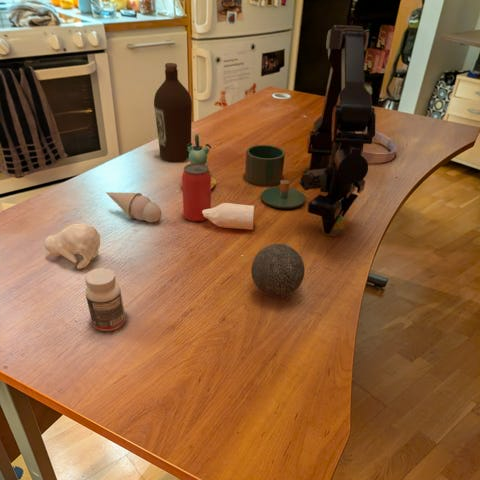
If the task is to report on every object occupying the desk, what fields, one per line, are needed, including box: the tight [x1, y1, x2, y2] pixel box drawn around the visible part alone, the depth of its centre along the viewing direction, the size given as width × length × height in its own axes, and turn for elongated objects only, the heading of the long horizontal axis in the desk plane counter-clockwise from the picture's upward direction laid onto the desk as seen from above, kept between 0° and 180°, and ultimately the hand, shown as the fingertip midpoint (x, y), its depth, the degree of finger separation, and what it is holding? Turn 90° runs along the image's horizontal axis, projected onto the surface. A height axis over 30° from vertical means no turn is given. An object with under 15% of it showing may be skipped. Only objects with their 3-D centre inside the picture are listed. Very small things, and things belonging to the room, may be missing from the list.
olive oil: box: [153, 62, 193, 163], centre depth 132 cm, size 11×11×25 cm
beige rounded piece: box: [44, 222, 101, 270], centre depth 93 cm, size 6×8×12 cm
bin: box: [244, 144, 286, 187], centre depth 128 cm, size 10×10×8 cm
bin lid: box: [260, 179, 306, 209], centre depth 118 cm, size 11×11×5 cm
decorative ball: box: [250, 243, 305, 298], centre depth 87 cm, size 10×10×10 cm
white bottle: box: [202, 202, 255, 231], centre depth 107 cm, size 6×12×6 cm, turn 85°
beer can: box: [181, 163, 212, 222], centre depth 108 cm, size 7×7×12 cm
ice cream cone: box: [105, 192, 162, 223], centre depth 108 cm, size 6×6×15 cm
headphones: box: [355, 127, 398, 163], centre depth 147 cm, size 22×7×20 cm
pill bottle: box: [84, 267, 126, 332], centre depth 78 cm, size 6×6×10 cm
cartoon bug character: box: [180, 133, 217, 189], centre depth 120 cm, size 10×18×15 cm, turn 171°
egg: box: [320, 214, 344, 237], centre depth 106 cm, size 5×5×6 cm
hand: (331, 228), depth 108 cm, fingers closed on egg, 5 cm apart
